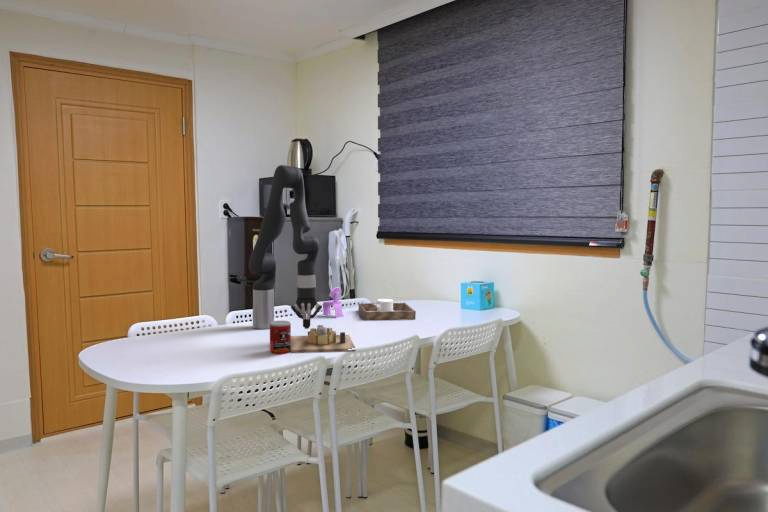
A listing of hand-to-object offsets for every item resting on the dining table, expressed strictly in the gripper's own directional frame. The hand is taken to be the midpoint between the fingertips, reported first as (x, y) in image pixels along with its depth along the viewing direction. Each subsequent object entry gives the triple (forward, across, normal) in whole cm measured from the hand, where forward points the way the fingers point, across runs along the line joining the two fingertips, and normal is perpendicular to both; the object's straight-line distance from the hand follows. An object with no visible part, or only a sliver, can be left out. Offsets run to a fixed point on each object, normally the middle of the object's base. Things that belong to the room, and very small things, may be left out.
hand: (306, 328), depth 235 cm
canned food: (+5, -7, -19) cm, 21 cm away
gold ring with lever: (+4, +6, -4) cm, 8 cm away
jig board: (+5, +7, -7) cm, 11 cm away
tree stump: (+5, +32, +59) cm, 67 cm away
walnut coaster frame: (+5, +32, +60) cm, 68 cm away
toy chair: (+5, +6, +54) cm, 54 cm away
